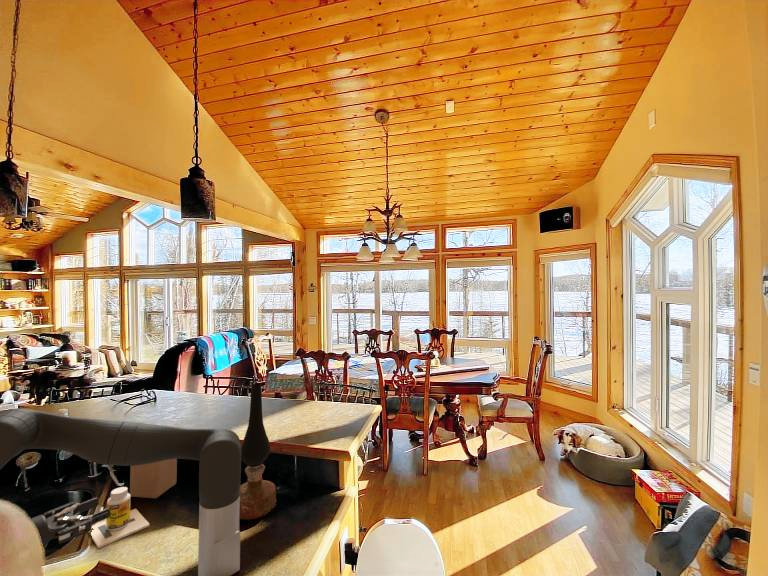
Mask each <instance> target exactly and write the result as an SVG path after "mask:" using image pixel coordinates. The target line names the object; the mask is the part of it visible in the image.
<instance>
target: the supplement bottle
mask: <svg viewBox="0 0 768 576" xmlns="http://www.w3.org/2000/svg"><path fill="white" fill-rule="evenodd" d="M128 490H129V488H128V487H127V486H120V487H117V488H114V489H112V490H111V492H110V497H109V498H108V499H107V501H106V509H107V508H109V509H110V517H109V518H106V519H105V520H106V529H107V530H109V531H115V530H119V529H121V528H123V527H125V526H126V525H127V524H128V523H129V521H130V511H131V495H130V492H129V491H128Z"/></svg>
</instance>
